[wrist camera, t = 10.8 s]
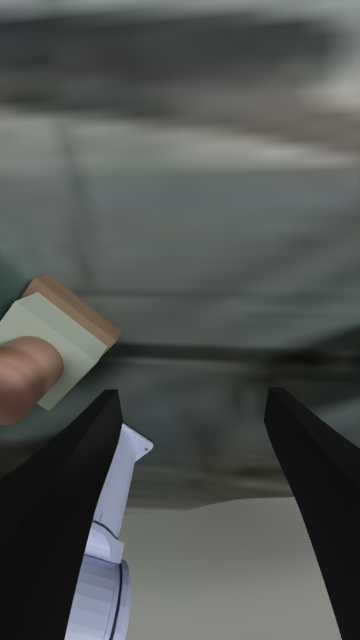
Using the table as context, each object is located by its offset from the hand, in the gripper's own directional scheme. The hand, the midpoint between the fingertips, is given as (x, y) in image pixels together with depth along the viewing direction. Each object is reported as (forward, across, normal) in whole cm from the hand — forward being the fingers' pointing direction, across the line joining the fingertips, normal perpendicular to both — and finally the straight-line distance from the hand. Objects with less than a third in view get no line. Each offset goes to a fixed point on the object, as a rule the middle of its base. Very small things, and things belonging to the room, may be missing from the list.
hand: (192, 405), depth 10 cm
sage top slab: (+8, +12, +1) cm, 15 cm away
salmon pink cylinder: (+6, +12, +1) cm, 13 cm away
